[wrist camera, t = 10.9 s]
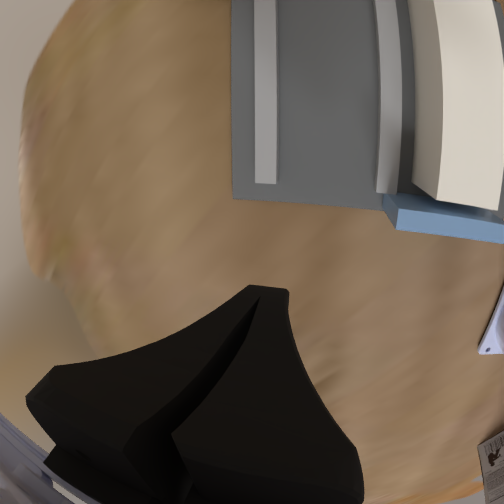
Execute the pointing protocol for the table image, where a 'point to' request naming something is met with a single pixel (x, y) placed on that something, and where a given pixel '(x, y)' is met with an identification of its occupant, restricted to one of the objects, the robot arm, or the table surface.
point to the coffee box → (493, 468)
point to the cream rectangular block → (458, 101)
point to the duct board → (336, 112)
